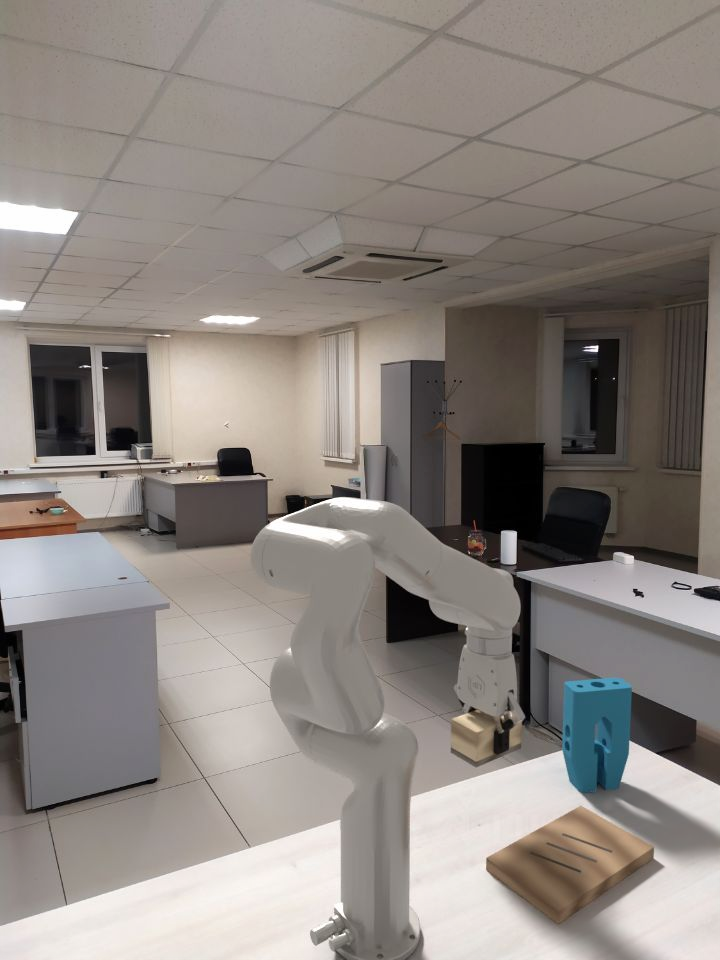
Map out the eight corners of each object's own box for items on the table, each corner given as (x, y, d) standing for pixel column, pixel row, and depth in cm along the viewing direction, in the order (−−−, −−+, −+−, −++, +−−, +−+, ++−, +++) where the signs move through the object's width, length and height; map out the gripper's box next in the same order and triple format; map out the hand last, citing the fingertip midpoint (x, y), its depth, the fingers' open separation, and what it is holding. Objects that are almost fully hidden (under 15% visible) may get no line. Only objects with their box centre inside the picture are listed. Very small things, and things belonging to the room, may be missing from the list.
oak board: (558, 924, 96) (559, 910, 96) (486, 869, 107) (486, 857, 107) (653, 858, 110) (654, 846, 110) (580, 816, 121) (580, 805, 121)
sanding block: (476, 767, 111) (476, 732, 110) (450, 752, 116) (451, 718, 115) (521, 748, 118) (522, 715, 117) (495, 734, 122) (496, 702, 122)
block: (614, 773, 135) (619, 677, 133) (629, 787, 130) (634, 687, 128) (559, 779, 133) (562, 681, 131) (572, 794, 128) (575, 692, 126)
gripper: (437, 632, 119) (436, 730, 121) (513, 662, 106) (510, 772, 108) (468, 624, 124) (466, 719, 126) (544, 652, 110) (541, 758, 112)
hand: (486, 742), depth 117 cm, fingers closed on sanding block, 6 cm apart
